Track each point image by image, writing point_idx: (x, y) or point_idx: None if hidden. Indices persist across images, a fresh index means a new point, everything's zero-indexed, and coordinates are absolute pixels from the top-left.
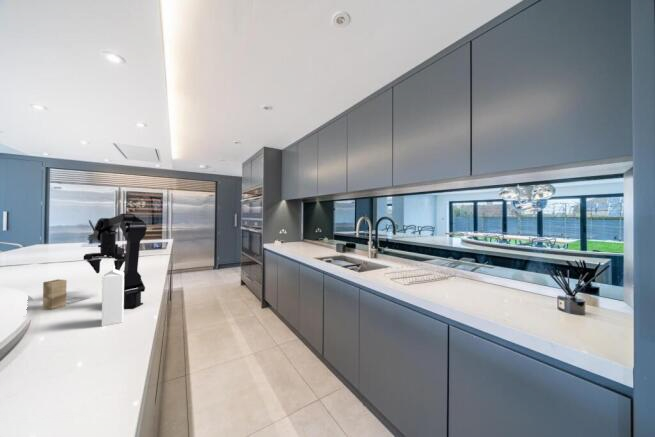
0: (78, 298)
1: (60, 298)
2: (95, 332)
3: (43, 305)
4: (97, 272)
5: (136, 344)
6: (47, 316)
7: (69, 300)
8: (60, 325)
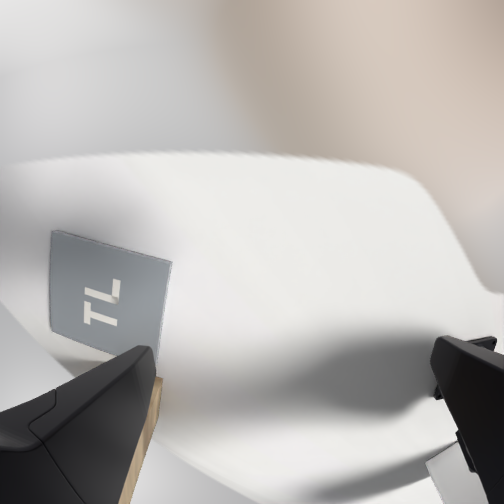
0: (97, 264)
1: (147, 431)
2: (428, 489)
3: None
4: (153, 382)
5: None
6: (207, 456)
7: (86, 299)
8: (325, 493)
